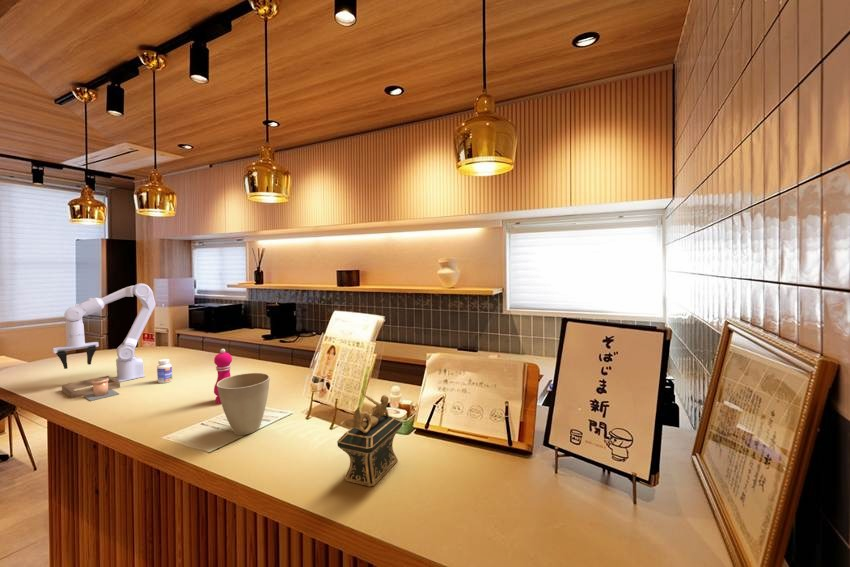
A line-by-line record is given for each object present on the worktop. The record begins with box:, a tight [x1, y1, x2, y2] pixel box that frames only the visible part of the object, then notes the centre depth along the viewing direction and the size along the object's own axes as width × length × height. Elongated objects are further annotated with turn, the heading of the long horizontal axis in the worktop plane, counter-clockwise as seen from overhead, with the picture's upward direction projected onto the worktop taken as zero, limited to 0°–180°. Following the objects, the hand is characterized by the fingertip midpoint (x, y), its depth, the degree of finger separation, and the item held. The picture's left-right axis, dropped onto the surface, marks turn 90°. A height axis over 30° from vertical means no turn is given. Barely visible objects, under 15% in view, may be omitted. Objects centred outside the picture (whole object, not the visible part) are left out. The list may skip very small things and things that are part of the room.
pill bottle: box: [156, 358, 173, 384], centre depth 170 cm, size 5×5×10 cm
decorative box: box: [336, 388, 403, 488], centre depth 94 cm, size 20×10×20 cm, turn 157°
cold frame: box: [61, 375, 121, 399], centre depth 161 cm, size 15×15×2 cm
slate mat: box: [83, 389, 120, 402], centre depth 154 cm, size 9×9×1 cm
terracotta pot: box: [92, 377, 109, 397], centre depth 153 cm, size 5×5×6 cm
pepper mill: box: [213, 348, 233, 405], centre depth 145 cm, size 7×7×20 cm
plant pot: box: [217, 372, 271, 436], centre depth 119 cm, size 15×15×16 cm
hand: (77, 366), depth 165 cm, fingers open, 7 cm apart
